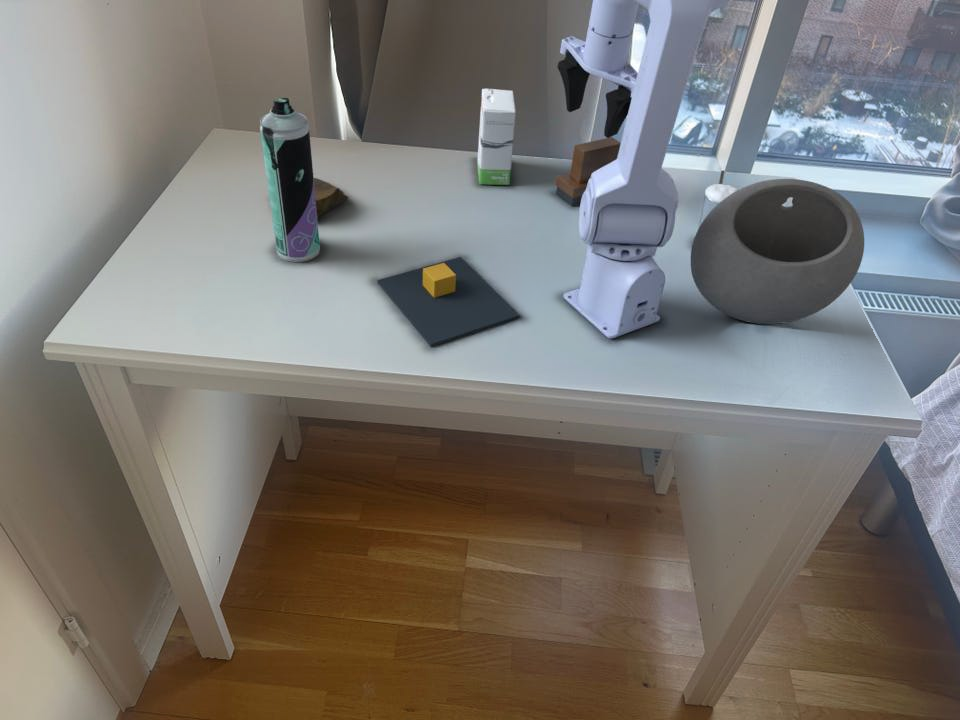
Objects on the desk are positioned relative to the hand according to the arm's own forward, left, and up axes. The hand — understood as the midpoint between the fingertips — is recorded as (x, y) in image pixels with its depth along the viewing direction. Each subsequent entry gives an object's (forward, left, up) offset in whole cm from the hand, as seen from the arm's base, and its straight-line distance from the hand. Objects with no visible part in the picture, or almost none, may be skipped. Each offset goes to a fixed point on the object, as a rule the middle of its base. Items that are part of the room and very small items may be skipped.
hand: (591, 121), depth 105 cm
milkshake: (-19, -8, -12) cm, 24 cm away
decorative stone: (+15, +37, -12) cm, 42 cm away
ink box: (+12, +8, -12) cm, 18 cm away
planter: (-35, 0, -12) cm, 37 cm away
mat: (-14, +31, -12) cm, 36 cm away
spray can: (+4, +43, -12) cm, 45 cm away
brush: (0, -2, -12) cm, 12 cm away
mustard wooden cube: (-12, +31, -11) cm, 36 cm away
